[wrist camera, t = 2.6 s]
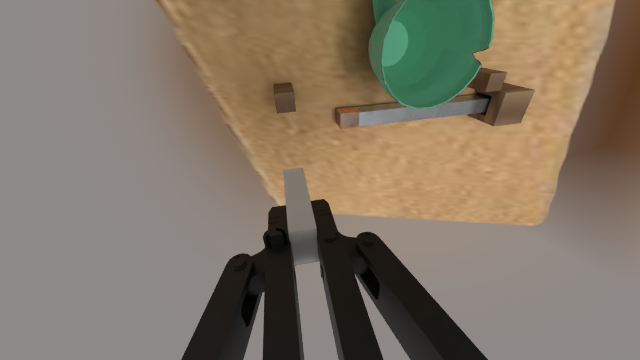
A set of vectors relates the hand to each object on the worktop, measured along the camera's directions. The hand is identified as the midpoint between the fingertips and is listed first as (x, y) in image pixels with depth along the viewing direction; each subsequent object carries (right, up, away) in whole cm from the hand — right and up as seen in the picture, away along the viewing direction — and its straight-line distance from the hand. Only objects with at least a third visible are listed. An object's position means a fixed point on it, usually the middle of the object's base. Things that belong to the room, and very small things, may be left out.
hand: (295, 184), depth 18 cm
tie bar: (+17, +11, +14) cm, 24 cm away
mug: (+9, +18, +8) cm, 22 cm away
